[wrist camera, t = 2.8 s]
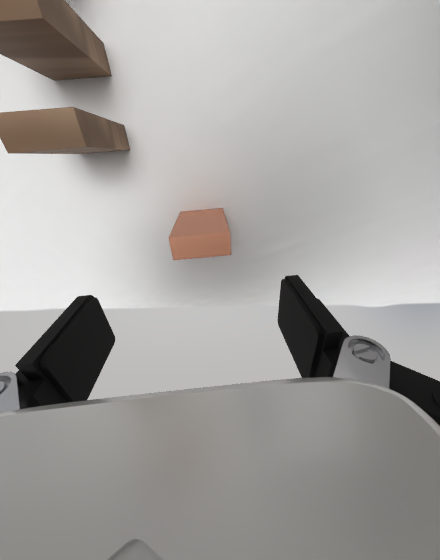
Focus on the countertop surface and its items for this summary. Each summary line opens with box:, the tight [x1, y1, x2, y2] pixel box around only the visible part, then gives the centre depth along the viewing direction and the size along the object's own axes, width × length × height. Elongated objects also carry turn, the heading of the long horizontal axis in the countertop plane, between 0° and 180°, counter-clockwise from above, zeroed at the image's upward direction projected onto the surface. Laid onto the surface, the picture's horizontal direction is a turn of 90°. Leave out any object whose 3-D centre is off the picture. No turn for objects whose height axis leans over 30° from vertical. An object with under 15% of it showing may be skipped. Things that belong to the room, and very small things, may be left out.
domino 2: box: [0, 107, 130, 154], centre depth 17 cm, size 2×5×9 cm, turn 94°
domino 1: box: [0, 0, 111, 80], centre depth 14 cm, size 2×5×9 cm, turn 94°
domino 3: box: [169, 208, 231, 260], centre depth 21 cm, size 2×5×9 cm, turn 94°
